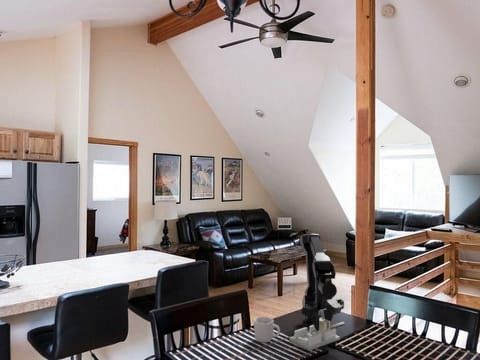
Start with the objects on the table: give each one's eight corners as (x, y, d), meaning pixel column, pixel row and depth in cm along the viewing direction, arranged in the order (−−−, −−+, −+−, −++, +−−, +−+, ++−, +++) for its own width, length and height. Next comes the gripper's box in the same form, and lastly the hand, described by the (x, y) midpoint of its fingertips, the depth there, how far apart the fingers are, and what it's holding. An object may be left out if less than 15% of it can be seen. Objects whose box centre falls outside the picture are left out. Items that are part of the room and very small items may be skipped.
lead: (332, 328, 165) (332, 326, 165) (330, 327, 166) (330, 325, 166) (345, 324, 170) (345, 321, 170) (343, 323, 171) (343, 321, 171)
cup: (283, 339, 153) (283, 319, 153) (276, 347, 146) (276, 326, 146) (258, 334, 158) (258, 315, 158) (250, 342, 151) (250, 321, 151)
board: (289, 340, 152) (289, 329, 152) (319, 330, 162) (319, 320, 162) (309, 350, 143) (309, 339, 143) (339, 339, 153) (339, 328, 153)
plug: (315, 333, 156) (315, 319, 156) (320, 332, 158) (320, 317, 158) (325, 338, 151) (325, 323, 151) (331, 336, 153) (331, 321, 153)
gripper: (321, 299, 143) (321, 341, 143) (353, 291, 154) (353, 330, 154) (300, 292, 152) (300, 332, 152) (332, 285, 163) (332, 322, 163)
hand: (322, 329), depth 155 cm, fingers open, 6 cm apart
